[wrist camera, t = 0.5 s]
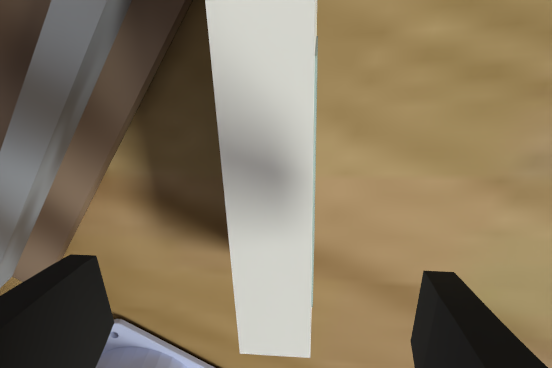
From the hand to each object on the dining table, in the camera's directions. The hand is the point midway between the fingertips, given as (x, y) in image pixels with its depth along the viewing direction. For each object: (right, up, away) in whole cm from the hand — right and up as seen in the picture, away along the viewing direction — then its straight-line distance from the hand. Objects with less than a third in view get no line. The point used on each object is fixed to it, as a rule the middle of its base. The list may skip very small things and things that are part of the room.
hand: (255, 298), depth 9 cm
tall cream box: (+1, +4, +8) cm, 10 cm away
